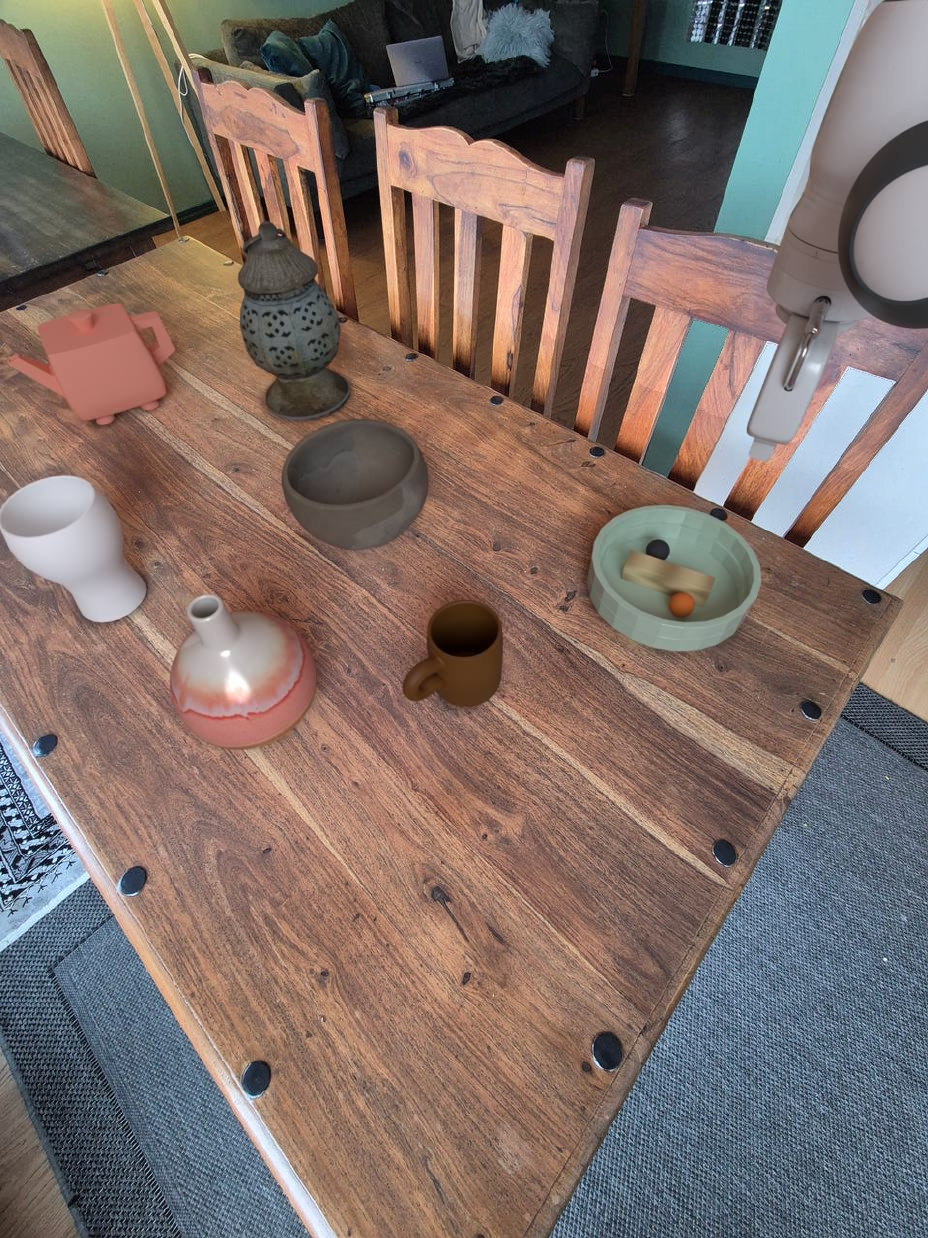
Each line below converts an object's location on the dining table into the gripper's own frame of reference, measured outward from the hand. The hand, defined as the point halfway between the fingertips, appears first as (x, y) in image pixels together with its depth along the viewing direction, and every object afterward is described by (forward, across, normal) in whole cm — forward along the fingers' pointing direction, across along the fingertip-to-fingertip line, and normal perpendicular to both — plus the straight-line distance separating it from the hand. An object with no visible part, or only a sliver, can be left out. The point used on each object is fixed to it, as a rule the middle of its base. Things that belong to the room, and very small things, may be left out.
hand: (770, 426), depth 59 cm
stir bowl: (+22, -4, +4) cm, 23 cm away
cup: (+22, -34, +63) cm, 75 cm away
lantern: (+22, +11, +67) cm, 71 cm away
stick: (+21, -3, +4) cm, 22 cm away
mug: (+22, -27, +20) cm, 41 cm away
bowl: (+22, -9, +43) cm, 49 cm away
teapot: (+21, -4, +93) cm, 96 cm away
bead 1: (+20, -1, +7) cm, 22 cm away
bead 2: (+20, -6, +3) cm, 21 cm away
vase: (+22, -38, +37) cm, 58 cm away
